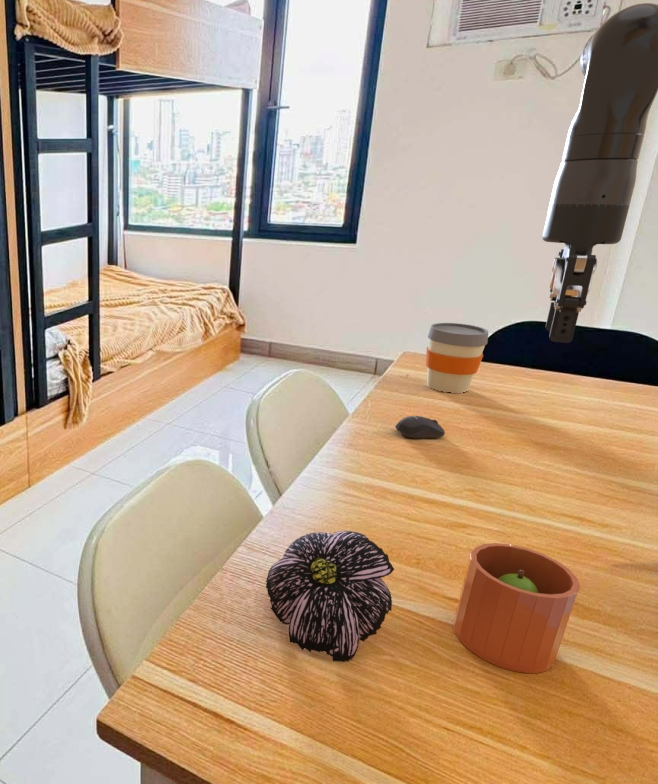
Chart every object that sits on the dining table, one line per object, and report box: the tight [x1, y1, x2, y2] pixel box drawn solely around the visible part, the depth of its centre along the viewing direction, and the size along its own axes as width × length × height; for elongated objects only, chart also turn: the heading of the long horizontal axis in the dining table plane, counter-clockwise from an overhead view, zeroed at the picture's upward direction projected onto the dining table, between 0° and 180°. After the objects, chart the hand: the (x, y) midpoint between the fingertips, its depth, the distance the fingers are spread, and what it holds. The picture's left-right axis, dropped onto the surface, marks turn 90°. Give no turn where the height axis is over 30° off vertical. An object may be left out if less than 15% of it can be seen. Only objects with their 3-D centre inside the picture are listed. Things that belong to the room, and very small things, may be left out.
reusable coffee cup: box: [425, 322, 489, 394], centre depth 154 cm, size 13×13×15 cm
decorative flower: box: [265, 530, 395, 663], centre depth 75 cm, size 14×12×15 cm
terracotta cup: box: [452, 542, 581, 674], centre depth 71 cm, size 10×10×10 cm
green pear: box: [498, 570, 538, 593], centre depth 71 cm, size 6×6×9 cm
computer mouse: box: [394, 415, 446, 440], centre depth 128 cm, size 6×9×4 cm, turn 94°
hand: (557, 336), depth 79 cm, fingers open, 8 cm apart
